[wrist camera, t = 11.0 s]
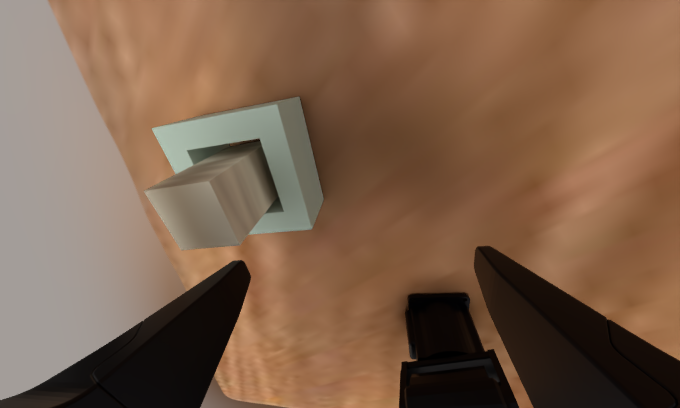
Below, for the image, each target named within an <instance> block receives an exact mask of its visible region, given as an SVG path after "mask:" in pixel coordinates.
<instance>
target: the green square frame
mask: <svg viewBox="0 0 680 408" xmlns="http://www.w3.org/2000/svg"><path fill="white" fill-rule="evenodd" d="M152 130H153V132H154V134H155V136H156V138H157V140H158V141H159V143H160V145H161V147H162V149H163V151H164V153H165V155H166V157H167V158H168V160H169V162H170V164H171V166H172V168H173V170H174V172H175V174H177V173H179V172H181V171H183V170H185V169H187V168H189V167H191V166H193V165H195V164H196V163H198V162H200V161H202V160H204V159H206V158H208V157H210V156H212V155H214V154H216V153H218V152H220V151H221V150H223V149H225V148H227V147H230V145H229V143H234V142H240V141H246V140H252V139H258V138H260V141H261V144H262V147H263V150H264V153H265V156H266V159H267V162H268V165H269V168H270V171H271V174H272V177H273V180H274V183H275V186H276V189H277V192H278V197H277V198H276V199H275V201H274V202H273V203H272V204H271V206H270V207H269V208H268V210H267V211H266V212H265V214H264V215H263V216H262V217H261V219H260V220H259V221H258V223H257V224H256V225H255V226H254V228H253V229H252V230H251V232H250V233H249V234H261V233H273V232H286V231H298V230H311V229H312V228H313V226H314V223H315V221H316V218H317V216H318V213H319V211H320V208H321V205H322V203H323V200H324V198H323V194H322V190H321V185H320V181H319V177H318V173H317V169H316V164H315V160H314V156H313V152H312V148H311V143H310V139H309V135H308V131H307V127H306V122H305V118H304V114H303V110H302V106H301V101H300V97H294V98H289V99H284V100H279V101H274V102H268V103H263V104H258V105H253V106H248V107H243V108H238V109H233V110H228V111H222V112H217V113H212V114H207V115H202V116H197V117H193V118H190V119H186V120H182V121H178V122H174V123H170V124H166V125H162V126H159V127H155V128H152Z"/></svg>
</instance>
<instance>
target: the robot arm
mask: <svg viewBox="0 0 680 408" xmlns="http://www.w3.org/2000/svg"><path fill="white" fill-rule="evenodd" d="M474 269H475V273H476V276H477V279H478V282H479V285H480V288H481V291H482V294H483V297H484V299H485V302H486V305H487V308H488V311H489V313H490V316H491V318H492V320H493V322H494V324H495V327H496V329H497V331H498V333H499V335H500V337H501V339H502V341H503V344H504V346H505V348H506V350H507V352H508V354H509V356H510V358H511V360H512V363H513V365H514V367H515V369H516V371H517V373H518V375H519V377H520V380H521V382H522V384H523V386H524V388H525V390H526V392H527V394H528V397H529V399H530V401H531V403H532V405H533V407H534V408H680V361H679V360H678V359H676V358H674V357H672V356H670V355H669V354H667V353H665V352H663V351H662V350H660V349H658V348H656V347H655V346H653V345H651V344H650V343H648V342H646V341H645V340H643V339H641V338H639V337H638V336H636V335H634V334H633V333H631V332H629V331H628V330H626V329H624V328H623V327H621V326H620V325H618V324H616V323H615V322H613V321H611V320H607V318H606V317H605V316H603V315H601V314H600V313H598V312H597V311H595V310H593V309H592V308H590V307H588V306H587V305H585V304H584V303H582V302H580V301H579V300H577V299H575V298H574V297H572V296H571V295H569V294H567V293H566V292H564V291H562V290H561V289H559V288H558V287H556V286H554V285H553V284H551V283H549V282H548V281H546V280H545V279H543V278H541V277H540V276H538V275H536V274H535V273H533V272H532V271H530V270H528V269H527V268H525V267H523V266H522V265H520V264H518V263H517V262H515V261H514V260H512V259H510V258H509V257H507V256H505V255H504V254H502V253H501V252H499V251H497V250H496V249H494V248H492V247H491V246H478V247H477V248H476V250H475V259H474ZM250 280H251V275H250V273H249V271H248V268H247V266H246V264H245V262H244V261H242V260H238V261H232V262H231V263H229V264H228V265H226V266H225V267H223V268H222V269H220V270H219V271H217V272H216V273H214V274H213V275H211V276H209V277H208V278H206V279H205V280H203V281H202V282H200V283H199V284H197V285H196V286H194V287H193V288H191V289H190V290H188V291H187V292H185V293H184V294H182V295H181V296H180V297H178V298H177V299H175V300H173V301H172V302H170V303H169V304H167V305H166V306H164V307H163V308H161V309H160V310H158V311H157V312H155V313H154V314H152V315H151V316H149V317H148V318H146V319H145V320H144V321H142V322H140V323H139V324H137V325H136V326H134V327H133V328H131V329H129V330H128V331H126V332H125V333H123V334H122V335H120V336H119V337H117V338H116V339H114V340H112V341H111V342H109V343H108V344H106V345H104V346H103V347H101V348H99V349H98V350H96V351H95V352H93V353H91V354H90V355H88V356H87V357H85V358H83V359H81V360H80V361H78V362H77V363H75V364H73V365H72V366H70V367H68V368H67V369H65V370H63V371H62V372H60V373H58V374H57V375H55V376H53V377H52V378H50V379H49V380H47V381H45V382H43V383H42V384H40V385H38V386H36V387H34V388H32V389H30V390H28V391H25V392H23V393H21V394H18V395H15V396H12V397H9V398H6V399H3V400H0V408H200V407H201V404H202V402H203V400H204V397H205V395H206V393H207V390H208V388H209V386H210V383H211V380H212V378H213V376H214V374H215V371H216V369H217V367H218V364H219V362H220V360H221V357H222V355H223V353H224V350H225V348H226V346H227V343H228V341H229V338H230V336H231V334H232V331H233V329H234V327H235V324H236V322H237V320H238V317H239V314H240V312H241V309H242V306H243V302H244V299H245V296H246V293H247V290H248V287H249V283H250ZM412 299H413V300H412ZM469 304H470V298H469V296H468V295H467V294H432V295H410V296H408V307H409V310H406V311H405V318H406V329H407V337H408V345H409V353H410V357H411V358H412V359H416V361H413V362H407V361H405V362H402V368H401V374H400V399H399V408H519V406H518V404H517V401H516V399H515V397H514V394H513V392H512V390H511V387H510V385H509V383H508V381H507V378H506V376H505V374H504V372H503V369H502V367H501V365H500V363H499V360H498V358H497V356H496V354H495V351H494V349H491V350H487V351H484V348H483V346H482V343H481V340H480V338H479V335H478V333H477V330H476V328H475V325H474V323H473V320H472V317H471V315H470V312H469Z"/></svg>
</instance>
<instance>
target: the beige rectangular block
mask: <svg viewBox="0 0 680 408" xmlns="http://www.w3.org/2000/svg"><path fill="white" fill-rule="evenodd" d="M144 192H145V194H146V195H147V197H148V199H149V200H150V202H151V203H152V205H153V206H154V208H155V210H156V211H157V213H158V214H159V216H160V218H161V219H162V221H163V222H164V224H165V225H166V227H167V229H168V230H169V232H170V233H171V235H172V237H173V238H174V240H175V241H176V243H177V244H178V246H179V248H180V249H181V250H190V249H201V248H213V247H225V246H237V245H241V243H242V242H243V241H244V239H245V238H246V237H247V236H248V234H249V233H250V232H251V230H252V229H253V228H254V226H255V225H256V224H257V223H258V221H259V220H260V219H261V217H262V216H263V215H264V214H265V212H266V211H267V210H268V208H269V207H270V206H271V204H272V203H273V202H274V201H275V199H276V198H277V197H278V192H277V189H276V186H275V183H274V180H273V177H272V174H271V171H270V168H269V165H268V162H267V159H266V156H265V153H264V150H263V147H262V144H261V141H258V142H252V143H247V144H241V145H236V146H230V147H227V148H225V149H223V150H221V151H220V152H218V153H216V154H214V155H212V156H210V157H208V158H206V159H204V160H202V161H200V162H198V163H196V164H195V165H193V166H191V167H189V168H187V169H185V170H183V171H181V172H179V173H177V174H175V175H173V176H172V177H170V178H168V179H166V180H164V181H162V182H160V183H158V184H156V185H154V186H152V187H150V188H148V189H147V190H145V191H144Z"/></svg>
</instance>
